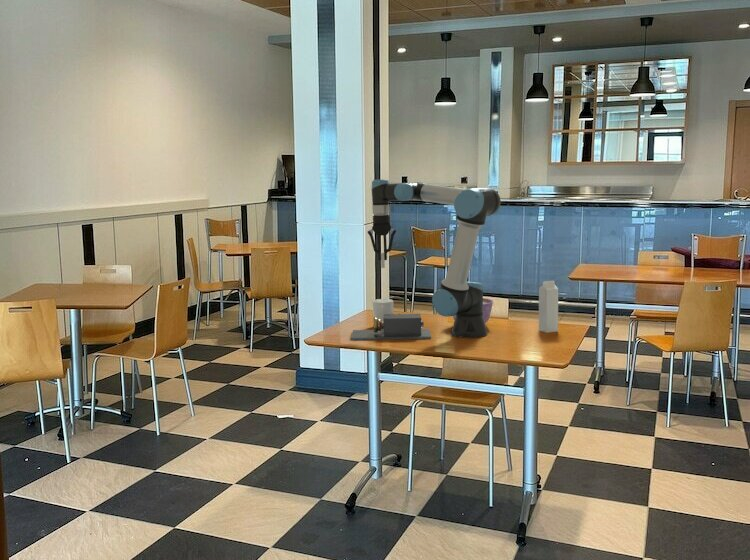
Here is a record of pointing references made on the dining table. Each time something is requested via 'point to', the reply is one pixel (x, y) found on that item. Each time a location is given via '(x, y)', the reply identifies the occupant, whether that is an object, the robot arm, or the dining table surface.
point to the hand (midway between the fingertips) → (383, 267)
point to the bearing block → (395, 329)
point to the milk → (548, 307)
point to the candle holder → (382, 307)
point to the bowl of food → (485, 309)
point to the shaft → (380, 324)
